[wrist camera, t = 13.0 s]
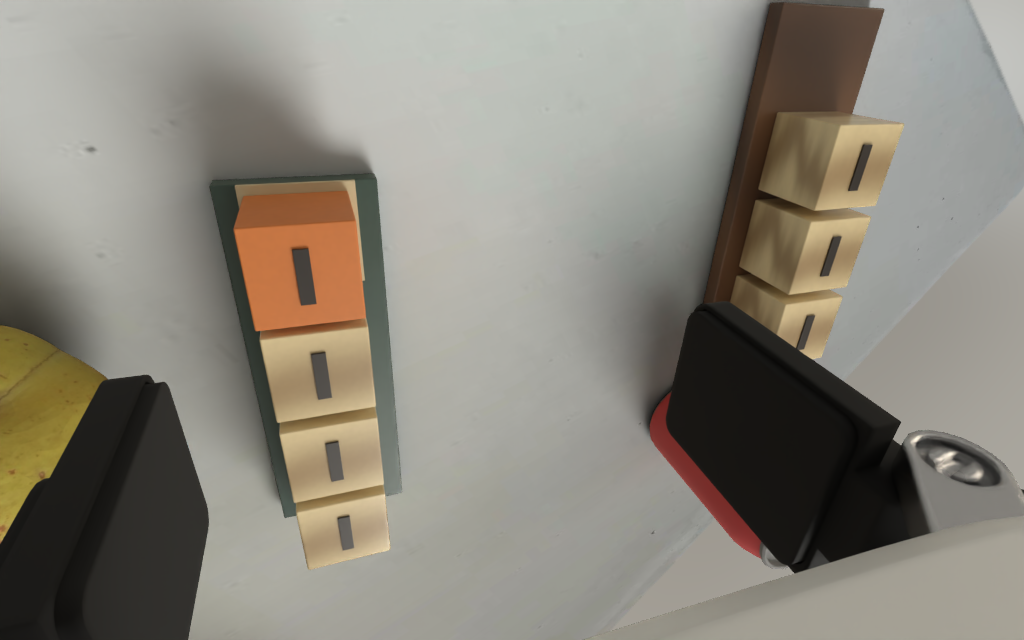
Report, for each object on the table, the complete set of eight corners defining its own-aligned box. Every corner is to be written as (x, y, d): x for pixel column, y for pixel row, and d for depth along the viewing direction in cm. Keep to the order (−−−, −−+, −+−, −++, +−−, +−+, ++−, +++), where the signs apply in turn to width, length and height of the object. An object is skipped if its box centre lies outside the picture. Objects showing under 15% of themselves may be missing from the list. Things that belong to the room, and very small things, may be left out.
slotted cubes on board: (769, 2, 29) (858, 0, 24) (869, 8, 31) (968, 7, 26) (695, 333, 38) (749, 376, 34) (776, 320, 40) (836, 359, 36)
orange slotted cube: (242, 195, 24) (232, 228, 20) (347, 190, 25) (356, 220, 21) (260, 287, 26) (254, 333, 22) (357, 278, 27) (366, 320, 24)
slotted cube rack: (212, 180, 24) (192, 218, 20) (374, 173, 26) (390, 206, 22) (284, 506, 34) (283, 582, 29) (399, 481, 36) (414, 549, 31)
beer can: (681, 364, 39) (811, 482, 29) (735, 390, 43) (868, 505, 33) (629, 434, 41) (734, 569, 31) (685, 454, 44) (796, 581, 34)
